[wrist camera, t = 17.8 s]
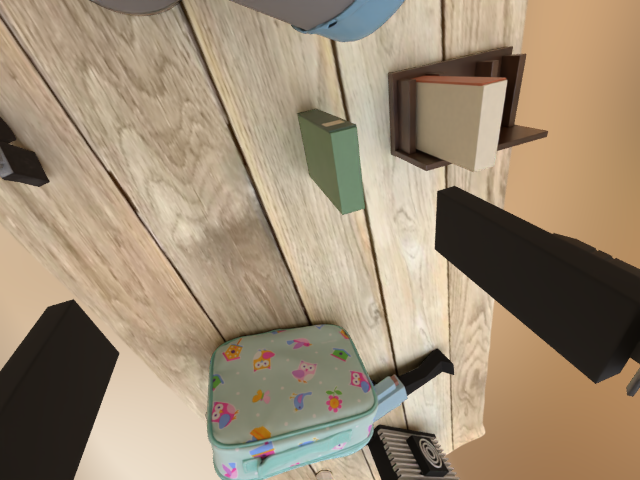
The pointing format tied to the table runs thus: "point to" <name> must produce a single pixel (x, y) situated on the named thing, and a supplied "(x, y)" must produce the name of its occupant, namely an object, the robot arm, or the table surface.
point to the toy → (409, 382)
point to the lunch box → (287, 401)
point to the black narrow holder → (18, 161)
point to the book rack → (466, 66)
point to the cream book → (460, 118)
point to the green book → (333, 158)
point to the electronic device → (408, 455)
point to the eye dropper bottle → (324, 475)
